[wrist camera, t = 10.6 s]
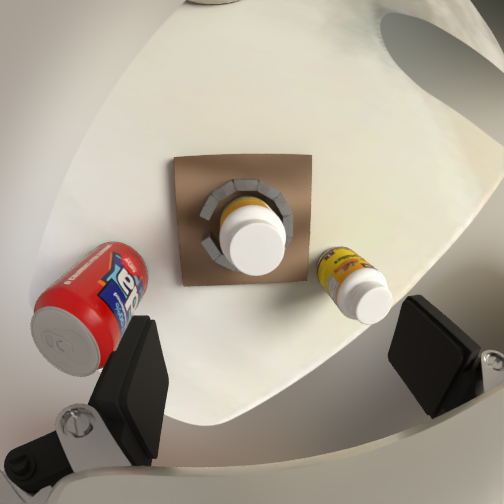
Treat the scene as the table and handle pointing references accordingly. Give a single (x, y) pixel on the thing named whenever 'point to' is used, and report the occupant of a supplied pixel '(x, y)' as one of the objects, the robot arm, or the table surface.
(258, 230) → the supplement bottle
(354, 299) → the supplement bottle
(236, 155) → the base plate
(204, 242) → the steel ring
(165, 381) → the robot arm
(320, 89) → the table surface
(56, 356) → the soda can
